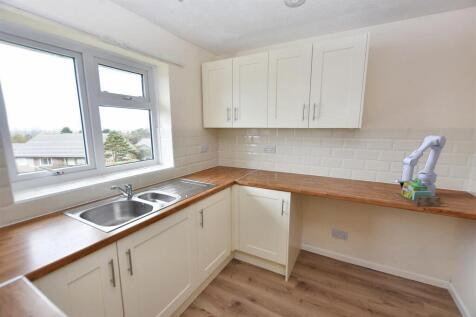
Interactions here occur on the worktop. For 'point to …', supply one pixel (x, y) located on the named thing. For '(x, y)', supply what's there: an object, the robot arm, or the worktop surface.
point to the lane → (421, 200)
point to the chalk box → (412, 188)
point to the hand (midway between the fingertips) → (404, 192)
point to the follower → (420, 194)
